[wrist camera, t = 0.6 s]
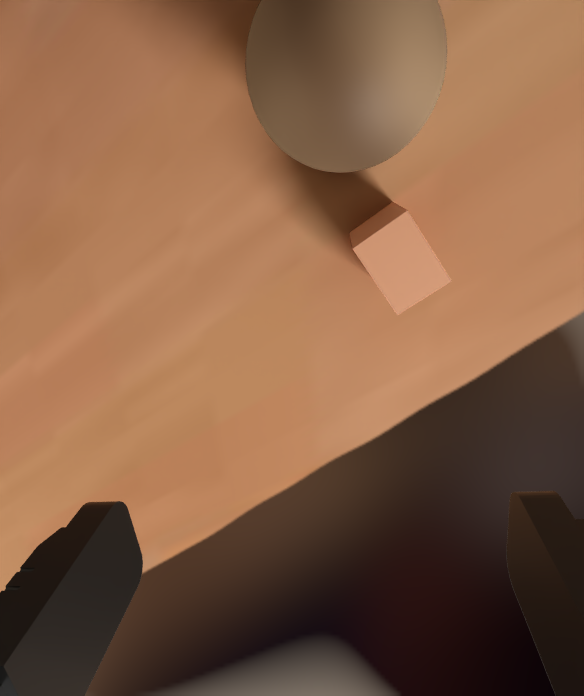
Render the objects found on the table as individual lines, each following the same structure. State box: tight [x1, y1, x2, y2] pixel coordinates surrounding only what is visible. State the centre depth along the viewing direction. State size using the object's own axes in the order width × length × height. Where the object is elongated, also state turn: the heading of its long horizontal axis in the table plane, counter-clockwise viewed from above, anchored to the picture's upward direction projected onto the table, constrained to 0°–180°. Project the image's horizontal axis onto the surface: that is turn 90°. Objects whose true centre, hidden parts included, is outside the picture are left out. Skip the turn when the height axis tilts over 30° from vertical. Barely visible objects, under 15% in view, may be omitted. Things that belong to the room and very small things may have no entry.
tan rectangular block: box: [349, 202, 452, 315], centre depth 25 cm, size 3×4×6 cm
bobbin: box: [245, 0, 447, 173], centre depth 20 cm, size 7×7×10 cm
